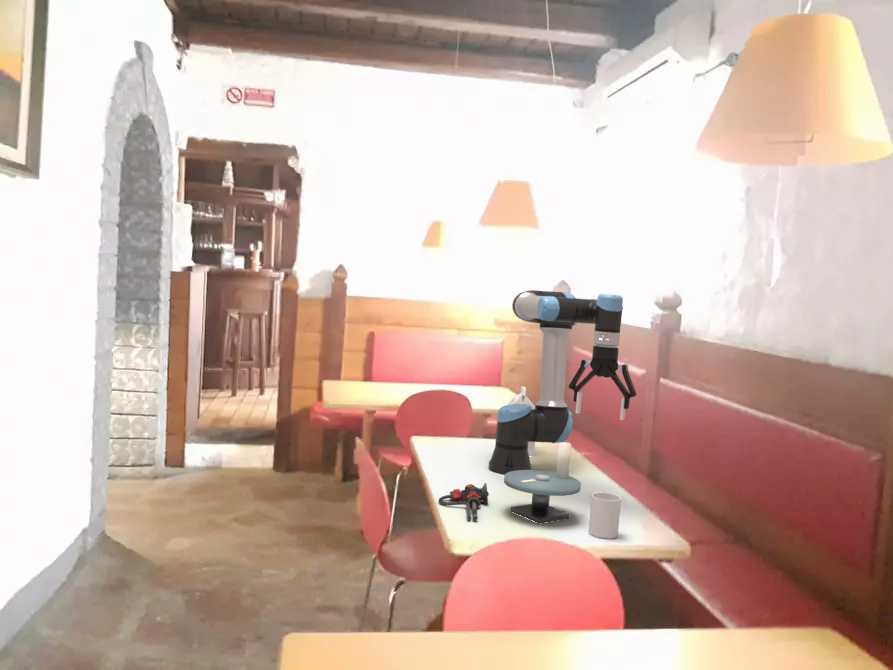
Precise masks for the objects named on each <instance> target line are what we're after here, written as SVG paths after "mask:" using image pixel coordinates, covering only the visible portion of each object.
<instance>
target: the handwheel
mask: <svg viewBox="0 0 893 670" xmlns="http://www.w3.org/2000/svg"><path fill="white" fill-rule="evenodd" d="M557 449H558V450H557V459H556V462H557V463H556V471H555V472H554V471H547V470H539V469H538V470H537V469H531V470H516V471H511V472H508V473H506V474H503V475H504V476H503V477H504V478H503V483H504V484H505V485H506V486H507V487H509V488H510V489H513V490H515V491H519V492H523V493H526V494H537V495H547V496H550V497H564V496H572V495H576V494H578V493H580V492H581V489H582V488H581V487H582V483H581V481H580V480H579V479H578V478H576V477H573V476H570V465H571V464H570V463H571V461H570V460H571V451H572V443H570V442H566V441H565V442H560V443H558V447H557Z"/></svg>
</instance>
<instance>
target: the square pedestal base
mask: <svg viewBox="0 0 893 670" xmlns="http://www.w3.org/2000/svg"><path fill="white" fill-rule="evenodd" d="M531 496H532V497H531V503H527V504H521V505H516V506H510V510H509V512H510V511H511V512H514V513H516V514H518V515H521V516H523V517H526V518H528V519H530V520H533V521H535V522H537V523H543V524H546V523H545V522H549V523H552V522H551V521H554V522H558V521H557V520H560V521H563V520H564V519H566V520H570V513H568V512H565V511H563V510H561V509H558V508H555V507H553V506H552V505H550V500H551V499H550V497H551V496H547V495H537V494H532V495H531ZM511 512H510V513H511ZM516 514H515V515H516ZM518 515H517V516H518ZM523 517H522V518H523ZM530 520H529V521H530ZM564 521H565V520H564ZM537 523H536V524H537Z"/></svg>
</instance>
